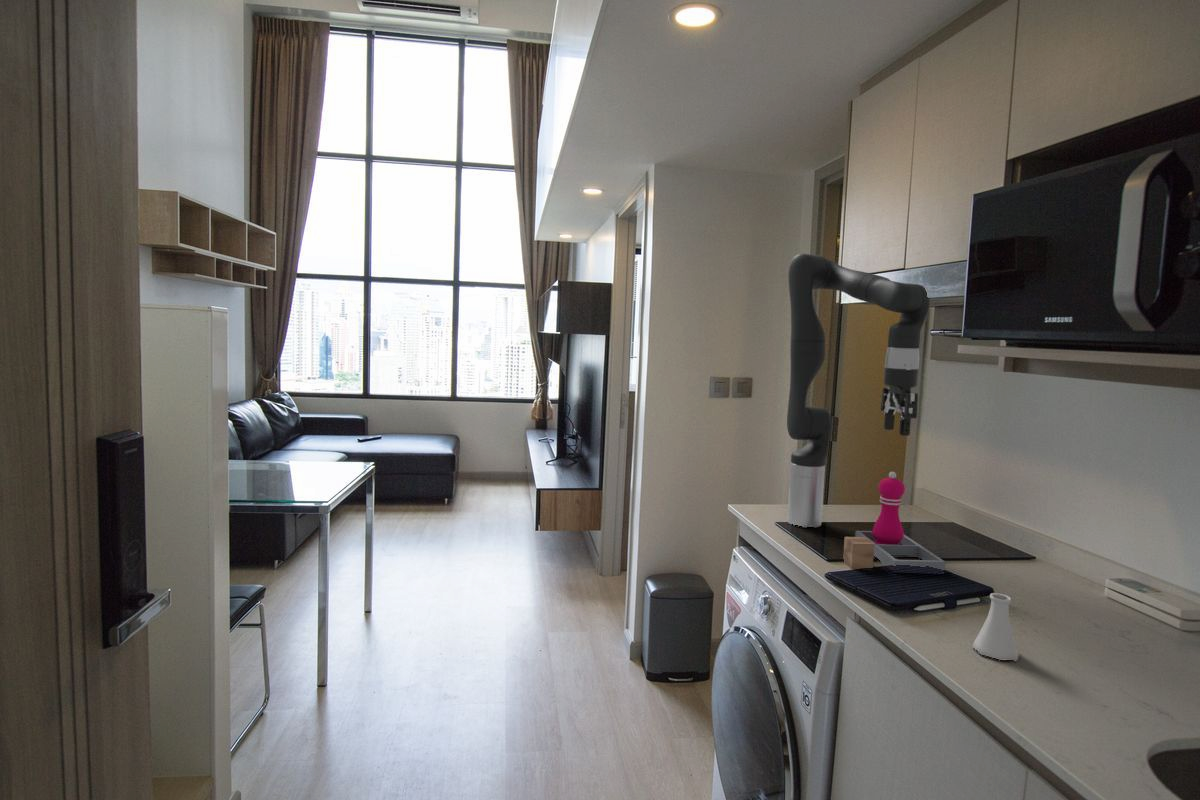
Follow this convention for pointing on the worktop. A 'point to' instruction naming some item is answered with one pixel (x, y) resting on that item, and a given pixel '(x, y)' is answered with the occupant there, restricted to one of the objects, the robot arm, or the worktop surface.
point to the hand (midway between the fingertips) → (896, 432)
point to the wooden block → (858, 552)
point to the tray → (903, 552)
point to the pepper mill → (889, 512)
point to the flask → (997, 631)
